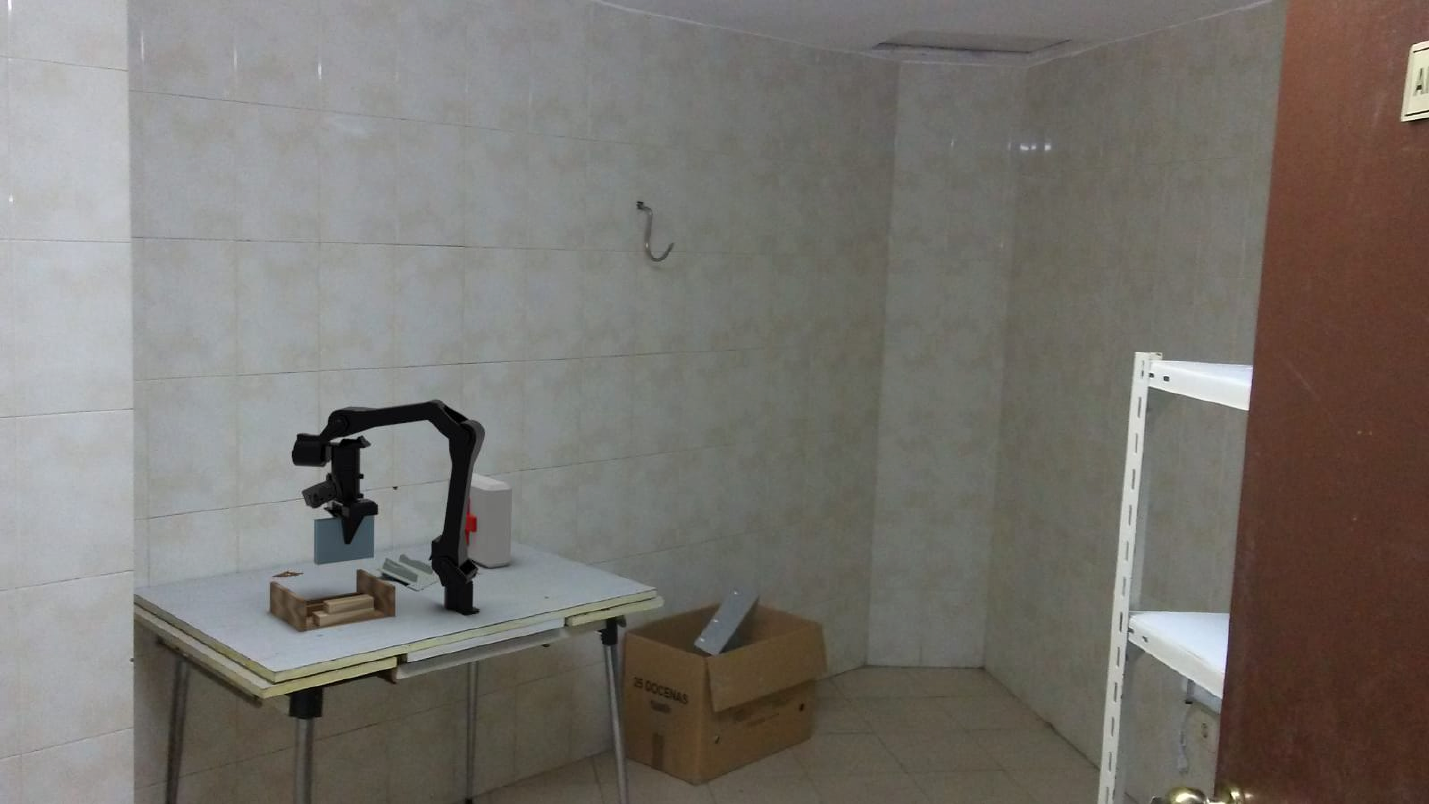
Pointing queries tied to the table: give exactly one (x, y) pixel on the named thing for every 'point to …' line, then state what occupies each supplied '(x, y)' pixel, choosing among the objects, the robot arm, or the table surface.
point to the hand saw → (287, 574)
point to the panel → (342, 541)
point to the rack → (301, 610)
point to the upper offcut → (348, 604)
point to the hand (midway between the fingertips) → (345, 543)
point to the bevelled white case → (488, 521)
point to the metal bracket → (409, 572)
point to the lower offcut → (341, 617)
